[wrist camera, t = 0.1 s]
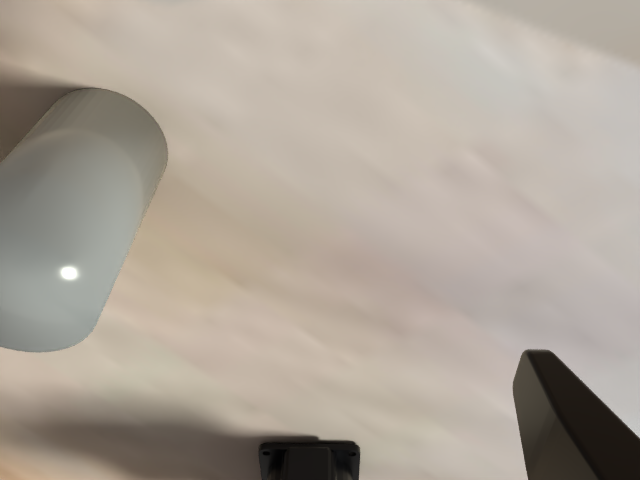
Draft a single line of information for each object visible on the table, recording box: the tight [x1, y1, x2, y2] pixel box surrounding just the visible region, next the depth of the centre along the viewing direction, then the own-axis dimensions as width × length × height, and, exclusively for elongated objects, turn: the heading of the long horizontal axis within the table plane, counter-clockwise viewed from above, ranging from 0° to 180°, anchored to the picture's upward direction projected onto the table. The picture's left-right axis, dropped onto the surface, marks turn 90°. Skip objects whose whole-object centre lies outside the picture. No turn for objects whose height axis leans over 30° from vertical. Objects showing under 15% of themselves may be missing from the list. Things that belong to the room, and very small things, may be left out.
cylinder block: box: [0, 88, 168, 352], centre depth 20 cm, size 5×5×9 cm
